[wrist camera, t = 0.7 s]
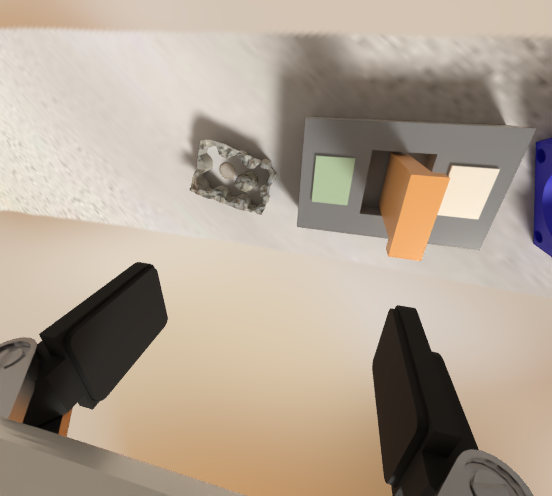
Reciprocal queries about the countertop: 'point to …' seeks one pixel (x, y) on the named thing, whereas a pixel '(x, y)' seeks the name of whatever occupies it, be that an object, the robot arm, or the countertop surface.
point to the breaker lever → (410, 205)
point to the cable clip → (543, 196)
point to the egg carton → (227, 171)
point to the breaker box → (423, 148)
